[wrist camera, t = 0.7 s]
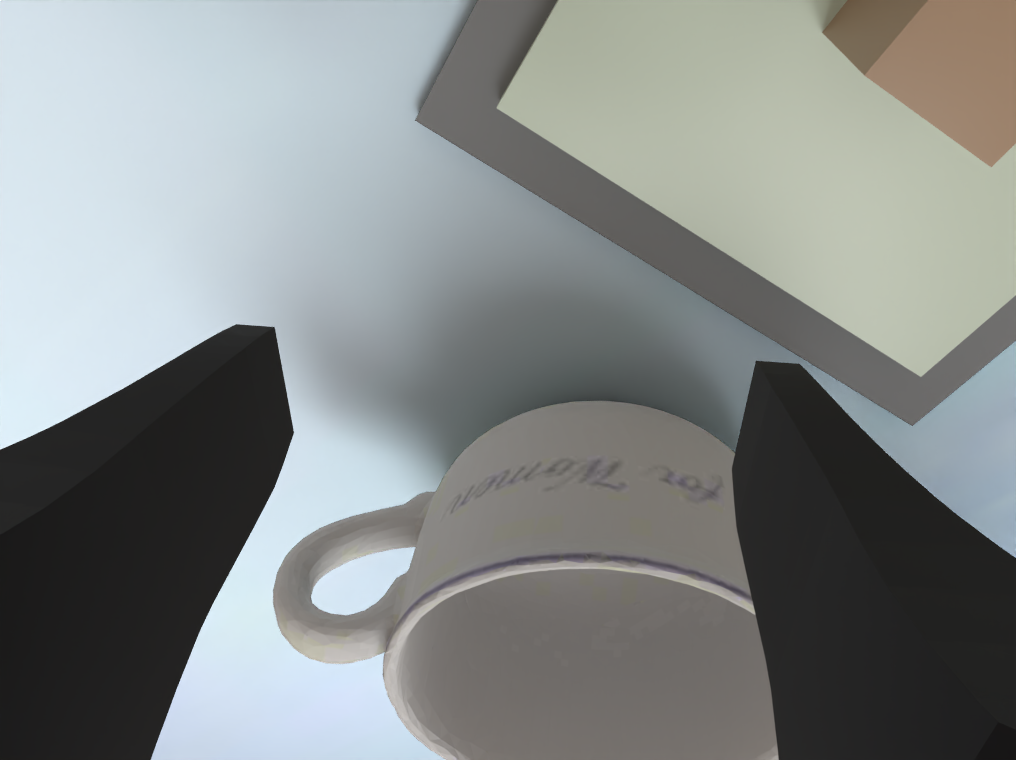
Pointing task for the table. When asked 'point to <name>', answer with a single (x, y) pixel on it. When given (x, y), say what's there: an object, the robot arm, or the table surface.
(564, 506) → the teacup
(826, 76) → the cream flat block
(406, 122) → the table surface
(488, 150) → the mat
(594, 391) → the table surface
